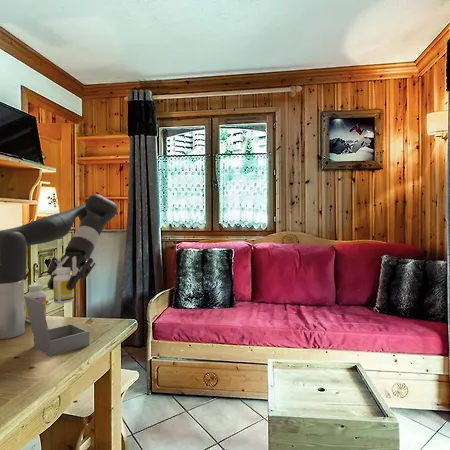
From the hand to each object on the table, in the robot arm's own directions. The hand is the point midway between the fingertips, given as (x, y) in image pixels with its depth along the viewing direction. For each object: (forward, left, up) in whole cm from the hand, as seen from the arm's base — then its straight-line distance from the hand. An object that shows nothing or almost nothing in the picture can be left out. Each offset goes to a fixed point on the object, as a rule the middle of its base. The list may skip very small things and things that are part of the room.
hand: (59, 288), depth 101 cm
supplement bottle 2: (-1, +2, -4) cm, 5 cm away
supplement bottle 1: (-34, +6, -17) cm, 38 cm away
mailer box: (-1, 0, -17) cm, 17 cm away
